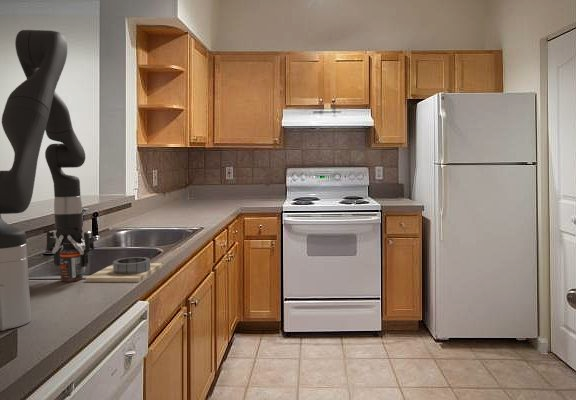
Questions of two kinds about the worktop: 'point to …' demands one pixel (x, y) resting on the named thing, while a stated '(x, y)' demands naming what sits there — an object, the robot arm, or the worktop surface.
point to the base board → (121, 275)
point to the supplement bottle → (70, 263)
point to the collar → (131, 265)
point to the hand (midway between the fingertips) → (71, 266)
